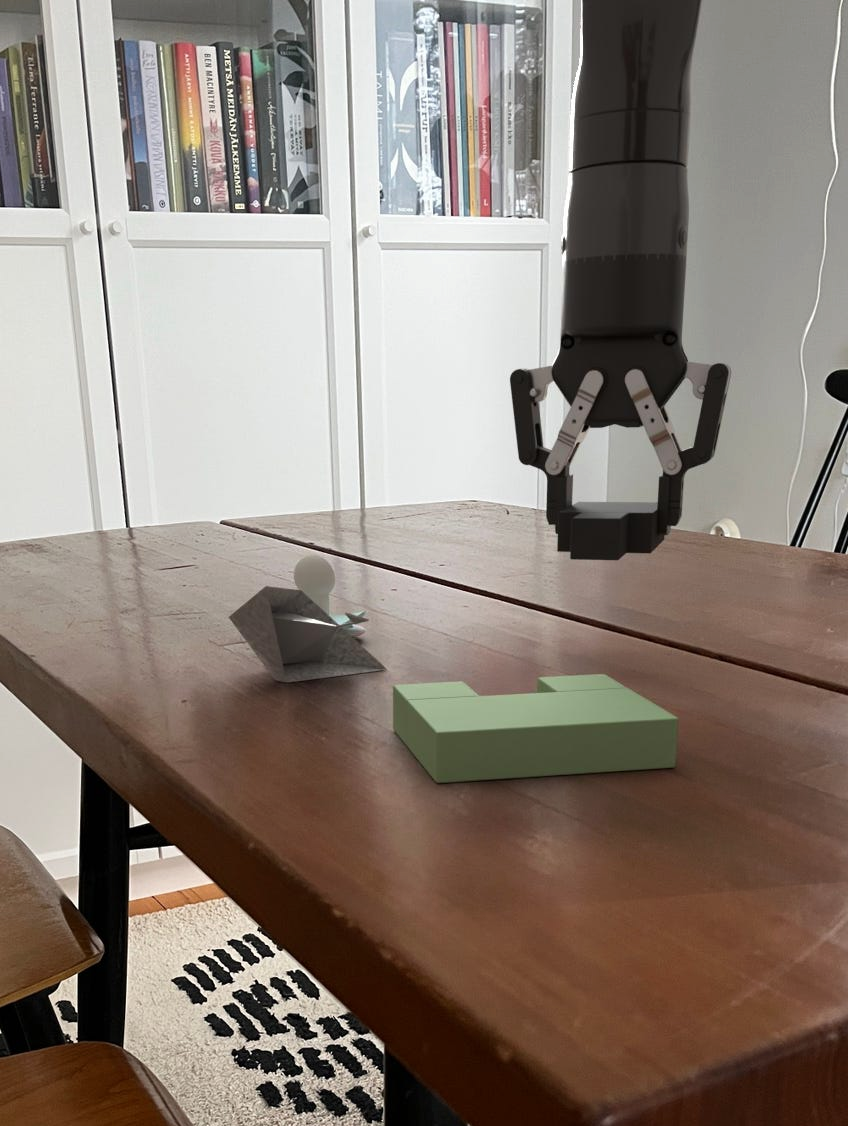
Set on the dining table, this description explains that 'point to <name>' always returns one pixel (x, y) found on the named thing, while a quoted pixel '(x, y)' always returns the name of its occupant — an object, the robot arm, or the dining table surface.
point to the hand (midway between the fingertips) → (612, 532)
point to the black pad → (608, 529)
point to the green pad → (533, 729)
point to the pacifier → (322, 588)
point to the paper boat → (300, 637)
